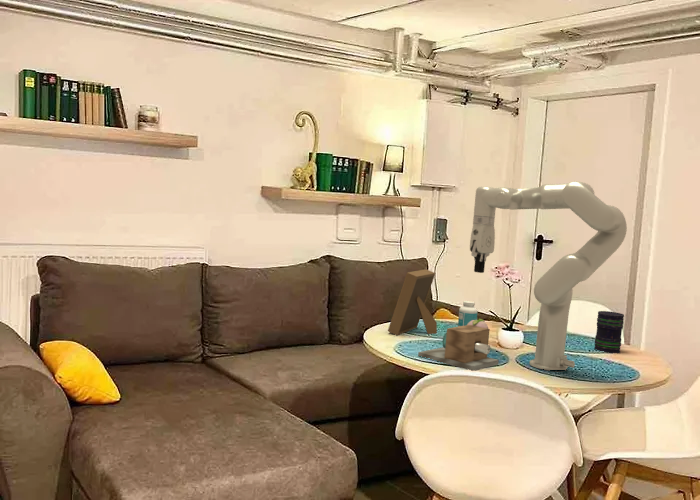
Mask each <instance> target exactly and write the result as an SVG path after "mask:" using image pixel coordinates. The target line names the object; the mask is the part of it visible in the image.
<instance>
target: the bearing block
mask: <svg viewBox="0 0 700 500" xmlns="http://www.w3.org/2000/svg"><path fill="white" fill-rule="evenodd" d="M446 332H447V336H446V347H445V348H444V347H443V346H442V347H438V348H433V349H428V350H422V351H418V353H417V356H422V357H426V358H430V359H433V360H432V361H434V360H437V361H440V362H439V363H441V362H443V364H445V363H446V365H449V364H450V366H453V367H456V368H461V369H465V370H468V369H469V371H472V370H475V371H478V370H482V369H485V368H489V367H493V366H498V365H499V359H495V358H491V357H489V356H488V354H484V353H480V352H476V351H474V346H475V342H477V343H481V344H486V345H489V339H490V338H489V337H490V328H488V329H487V328H482V327H478V326H473V325H465V326H459V327H458V326H454V327H449V328H446ZM422 357H421V358H422ZM426 358H425V359H426ZM430 359H429V360H430ZM437 361H436V362H437Z"/></svg>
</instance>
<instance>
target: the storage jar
mask: <svg viewBox="0 0 700 500" xmlns="http://www.w3.org/2000/svg"><path fill="white" fill-rule="evenodd" d="M624 317H625V314H623V313H621V312H615V311H607V310H599V311H597V318H596V326H597V327H596V333H595V337H594V338H595V339H594V348H595V349H597V350H600V351H604V352H609V353H608V354H613V353H617V354H620V353H621V346H622V331H623V329H624V322H625V321H624ZM595 349H594V350H595ZM600 351H599V352H600ZM604 352H603V353H604Z"/></svg>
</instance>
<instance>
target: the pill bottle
mask: <svg viewBox="0 0 700 500" xmlns="http://www.w3.org/2000/svg"><path fill="white" fill-rule="evenodd" d="M462 305H463V306H460V307H459V309H458V321H457V327H459V326H465V325H467V324H468V323H469V322H470V321H472V320H477V319H478V309H477V308H476V307H475V305H476V302H475V301H470V300H469V301H468V300H463V303H462Z"/></svg>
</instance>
